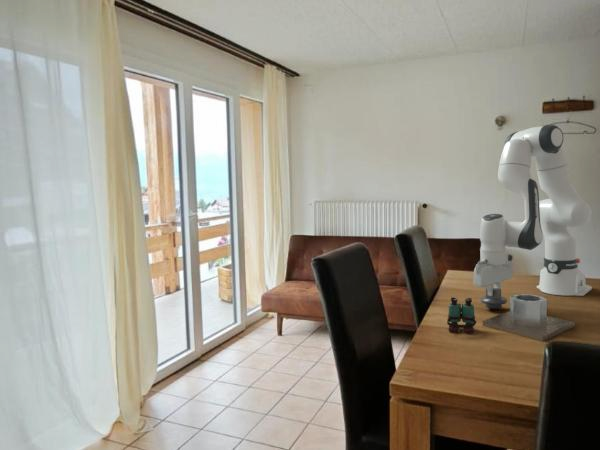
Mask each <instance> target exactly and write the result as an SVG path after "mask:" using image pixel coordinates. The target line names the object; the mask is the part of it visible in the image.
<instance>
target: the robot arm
mask: <svg viewBox="0 0 600 450" xmlns="http://www.w3.org/2000/svg"><path fill="white" fill-rule="evenodd" d="M563 142H564V133H563V131H562V129H561V128H559V126H557V125H555V124H545V125H542V126H534V127H529V128H527V129H522V130H520V131H514V132H513V133H510V134H509V135H508V136H507V137H506V139H505V141H504V147H503V149H502V151H501V156H500V159H499V164H498V169H497V170H498V171H497V179H498V182H499V183H500V185H501V186H502V187H503V188H505V189H507V190H508V191H511V192H513V193H516V194H519V195H520V196H522V199H523V201H524V204H523V205H524V220H523V221H511V220H506V219H505V217H504V215H503V214H501V213H500V214H499V213H490V214H486V215H484V216H483V217H481V219H480V220H481V221H480V225H479V226H480V228H479V241H480V248H479V251H480V253H479V254H480V256H479V257H480V259H479V261H478V262H477V264H475V267H474V269H473V279H472V280H473V281H472V283H473V285H474V287H476V288H477V287H478V288H485V290H486V289H487V291H488V295H489V296H493V295H494V291H493V290H492V287H493V285H494V287H493V288H498V289H501V287H502V282H504V281H508V280H511V279H512V278H513V275H514V263H513V261H514V259H515V258H514V255H513V254H510V253H507V248H519V249H521V250H522V249H523V250H527V251H532V250H534V249H536V248H537V247H539V245H540V244H541V243H542V240H543V239H544V258H543V268H542V269H540V274H539V275H540V276H539V284H538V285H536V289H538V290H540V291H541V292H542V293H545V294H548V295H555V296H568V297H569V296H578V297H579V296H581V297H583V296H585V295H586V294H588V293H589V292H590V291H592V289H593V287H592V286H590V285H588V284H586V275H585V274H584V273H583V272H582V271H581V270H580V269H579V268H578V267H579V266H578V265H579V264H580V263H581V259H580V258H576V256H577V255H576V253H577V252H576V249H577V247H576V246H577V243H576V240H575V238H574V236H572V235H571V233H570V232H569V229H568V228H569V227H571V228H575V227H582V226H585V225H587V224H588V223H589V222H590V220H591V218H592V214H593V213H592V212H593V211H592V208H591V206H590V205H589V204H588V203H587V202H586V201H585V200H584V199H582V197H580V195H579V194H578V191H576V189H575V187H574V185H573V183H572V179H571V176H570V175H571V174H570V171H569V166H568V162H567V161H568V160H567V157H566V154H565V151H564V149H563V147H562V145H563V144H564V143H563ZM532 157H534V161H535V168H536V173H537V178H538V179H537V180H538V184H539V185H538V184H537V181H535V180H534V179H532V176H531V175H532V174H531V165H532ZM538 187H539V188H540V189H541V190H542V192H544V193H545V194H546V195H547V197H548V198H545V199H541V200H540V197H539V195H540V194H539V188H538Z"/></svg>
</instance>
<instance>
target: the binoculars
mask: <svg viewBox="0 0 600 450" xmlns="http://www.w3.org/2000/svg"><path fill="white" fill-rule="evenodd" d="M472 299H473V298H471V297H468V298H465V300H464V302H465V303H464V302H463V303H460V302H459V303H458V298H457V297H450V302H451V303H449V304H448V315H447V321H446V322H447V323H446V324H447V326H448V332H450V333H453V334H458V333H460V329H463V330H462V331H463V333H464V334H466V335H471V334H473V333H474V332H475V327H474V326H476V324H477V321H476V315H475V305H474V304H472V301H473V300H472ZM461 320H462V322H463V323H465V324H459V323H460V322H461Z"/></svg>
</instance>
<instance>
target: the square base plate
mask: <svg viewBox="0 0 600 450" xmlns="http://www.w3.org/2000/svg"><path fill="white" fill-rule="evenodd" d="M547 303H548V300H547V298H545V297H544V296H542V295H537V294H531V293H516V294H513V295H510V296H509V311H506V312H503V313H501V314H498V315H496V316H492V317H490V318H487V319H484V320H482V326H485V327H489V328H492V329H496V330H500V331H503V332H507V333H510V334H515V335H518V336H522V337H526V338H529V339H533V340H537V341H541V342H543V341H546V340H549V339H551V338H553V337H555V336H558V335H559V334H561V333H563V332H566V331H567V330H570V329H572V328H575V323H576V322H575V321H571V320H567V319H562V318H557V317H553V316H548V315H547V312H548V311H547V308H548V307H547V306H548V305H547Z"/></svg>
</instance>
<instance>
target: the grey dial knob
mask: <svg viewBox="0 0 600 450" xmlns="http://www.w3.org/2000/svg"><path fill="white" fill-rule="evenodd" d="M492 290H493V291H494V295H493V296H489V295H488V291H487V289H486V288H485V295H484V296H481V297H480V302H481V303H482V304H485V308H487V309H494V310H500V309H502V308H503V305H505V304H507V303H508V300H507V298H506V297H504V296H502V288H500V289H498V288H494V287H492Z"/></svg>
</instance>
